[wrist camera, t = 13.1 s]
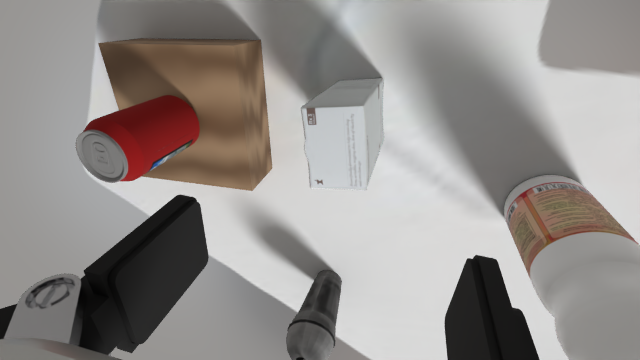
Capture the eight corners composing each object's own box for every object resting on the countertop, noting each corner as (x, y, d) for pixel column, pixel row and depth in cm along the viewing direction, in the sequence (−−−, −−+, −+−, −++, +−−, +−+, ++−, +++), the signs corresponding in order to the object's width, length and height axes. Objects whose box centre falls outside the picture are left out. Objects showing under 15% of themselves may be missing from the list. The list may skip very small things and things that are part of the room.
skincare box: (384, 139, 42) (371, 196, 29) (339, 139, 44) (309, 193, 31) (383, 73, 38) (367, 105, 26) (334, 76, 40) (297, 108, 27)
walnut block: (140, 38, 44) (98, 43, 38) (260, 39, 40) (233, 45, 34) (170, 157, 53) (139, 176, 47) (272, 168, 49) (252, 190, 43)
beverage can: (159, 139, 43) (79, 180, 32) (152, 88, 39) (60, 116, 29) (205, 149, 42) (136, 196, 31) (202, 98, 38) (124, 132, 28)
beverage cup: (302, 280, 58) (256, 393, 41) (320, 257, 55) (277, 370, 38) (336, 301, 59) (304, 421, 42) (357, 278, 55) (330, 401, 38)
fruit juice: (558, 157, 38) (806, 416, 14) (605, 210, 39) (905, 528, 15) (486, 201, 42) (577, 449, 19) (530, 246, 44) (668, 532, 20)
